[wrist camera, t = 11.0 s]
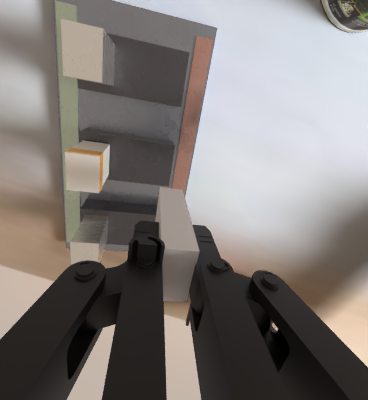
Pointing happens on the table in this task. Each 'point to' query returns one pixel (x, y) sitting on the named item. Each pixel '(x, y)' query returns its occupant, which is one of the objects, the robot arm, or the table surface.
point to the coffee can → (348, 14)
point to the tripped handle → (87, 166)
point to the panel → (127, 112)
